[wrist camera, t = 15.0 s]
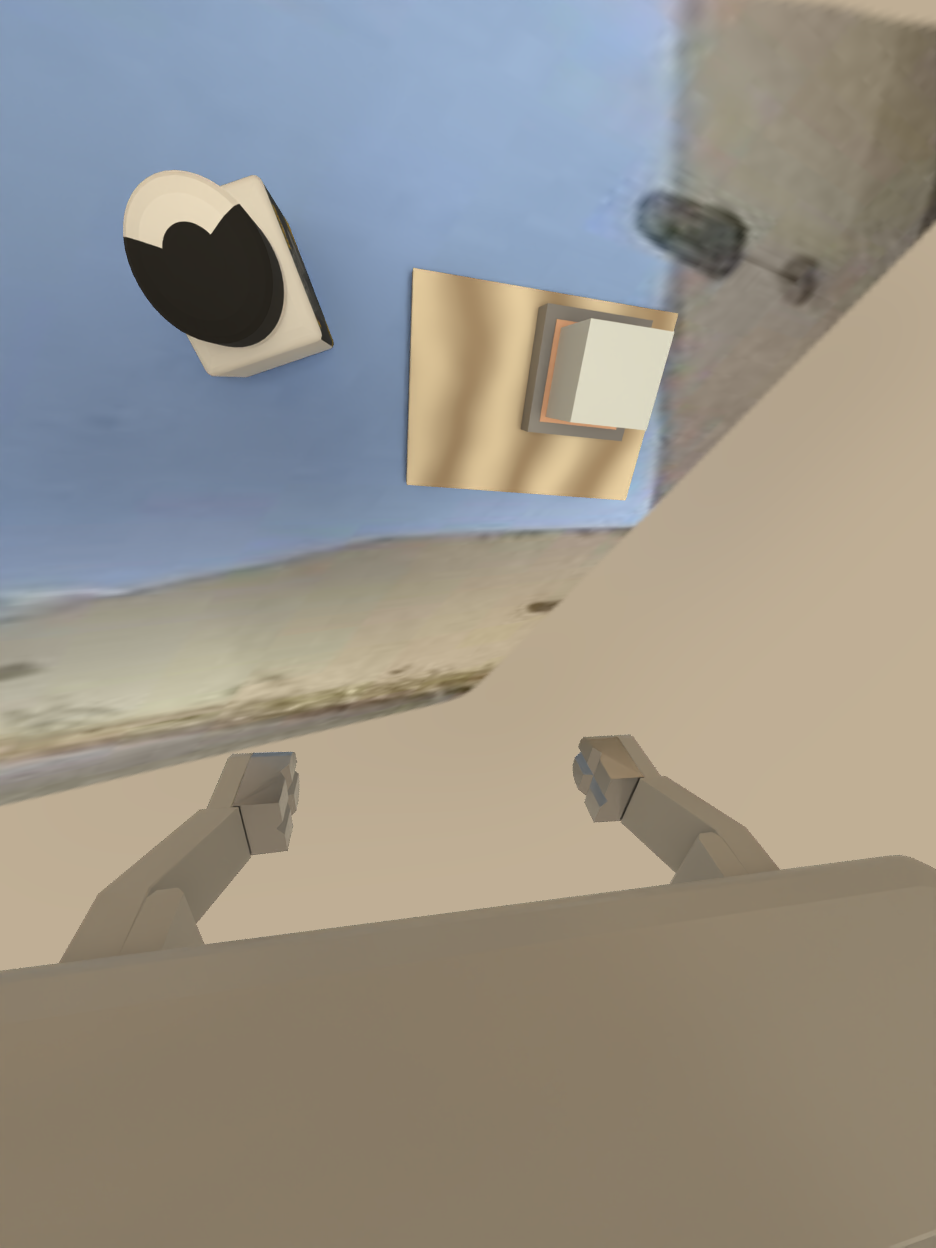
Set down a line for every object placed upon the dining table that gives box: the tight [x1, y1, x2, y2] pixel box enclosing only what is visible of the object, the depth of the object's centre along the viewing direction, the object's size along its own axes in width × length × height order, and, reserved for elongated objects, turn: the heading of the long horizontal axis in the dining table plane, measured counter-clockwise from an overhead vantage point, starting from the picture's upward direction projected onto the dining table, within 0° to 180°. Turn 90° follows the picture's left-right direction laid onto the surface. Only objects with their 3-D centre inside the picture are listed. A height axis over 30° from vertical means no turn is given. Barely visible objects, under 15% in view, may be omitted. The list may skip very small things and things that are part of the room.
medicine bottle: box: [123, 170, 334, 377], centre depth 23 cm, size 7×7×12 cm
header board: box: [406, 268, 678, 500], centre depth 31 cm, size 20×14×7 cm
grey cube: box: [546, 318, 674, 430], centre depth 29 cm, size 6×6×5 cm
